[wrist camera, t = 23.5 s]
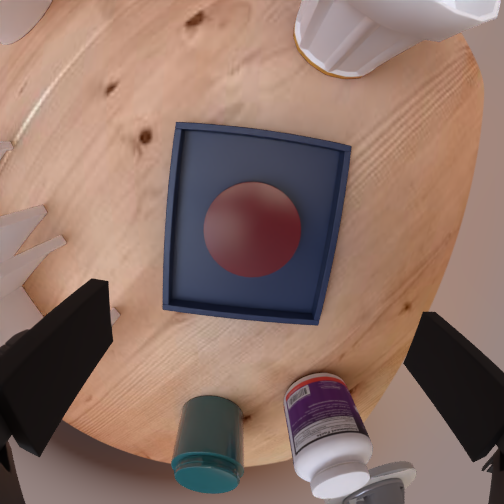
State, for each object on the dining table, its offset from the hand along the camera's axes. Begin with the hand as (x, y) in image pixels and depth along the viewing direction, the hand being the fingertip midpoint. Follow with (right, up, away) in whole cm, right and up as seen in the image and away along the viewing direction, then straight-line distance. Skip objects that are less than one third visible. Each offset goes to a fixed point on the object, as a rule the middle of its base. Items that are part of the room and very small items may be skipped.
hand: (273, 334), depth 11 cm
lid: (-1, +5, +14) cm, 15 cm away
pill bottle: (+7, -14, +22) cm, 27 cm away
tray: (-1, +5, +16) cm, 17 cm away
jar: (-6, -18, +23) cm, 30 cm away
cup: (+8, +24, +11) cm, 28 cm away
